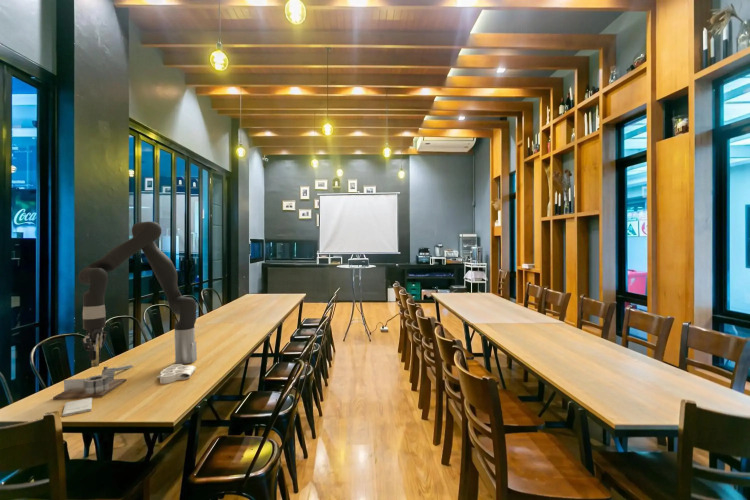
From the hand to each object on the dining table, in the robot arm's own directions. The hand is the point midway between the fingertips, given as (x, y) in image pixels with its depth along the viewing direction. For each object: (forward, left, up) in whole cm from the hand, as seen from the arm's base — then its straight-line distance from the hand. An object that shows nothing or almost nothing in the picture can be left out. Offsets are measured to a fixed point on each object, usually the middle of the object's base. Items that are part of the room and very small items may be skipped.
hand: (95, 358), depth 157 cm
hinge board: (+4, -4, -14) cm, 15 cm away
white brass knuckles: (-25, -16, -15) cm, 33 cm away
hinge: (+4, -4, -13) cm, 14 cm away
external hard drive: (-2, +15, -15) cm, 21 cm away
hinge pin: (0, 0, -3) cm, 3 cm away
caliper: (+4, -24, -15) cm, 28 cm away
